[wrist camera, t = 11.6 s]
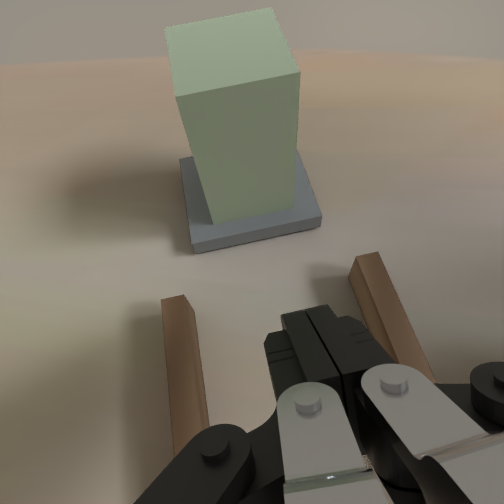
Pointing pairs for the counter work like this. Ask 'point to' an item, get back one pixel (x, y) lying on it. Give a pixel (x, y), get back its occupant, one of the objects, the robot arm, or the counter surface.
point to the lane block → (240, 130)
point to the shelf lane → (188, 354)
